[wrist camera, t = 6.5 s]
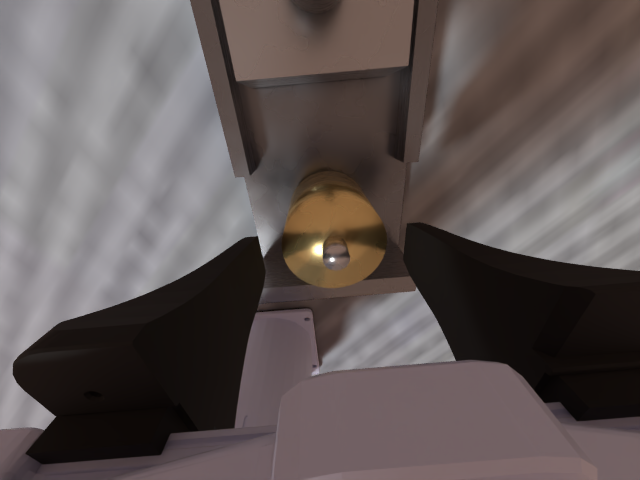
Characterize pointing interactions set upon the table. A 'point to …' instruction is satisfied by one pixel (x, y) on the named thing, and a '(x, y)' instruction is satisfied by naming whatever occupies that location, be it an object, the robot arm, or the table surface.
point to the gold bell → (332, 232)
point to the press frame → (322, 146)
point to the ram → (316, 39)
